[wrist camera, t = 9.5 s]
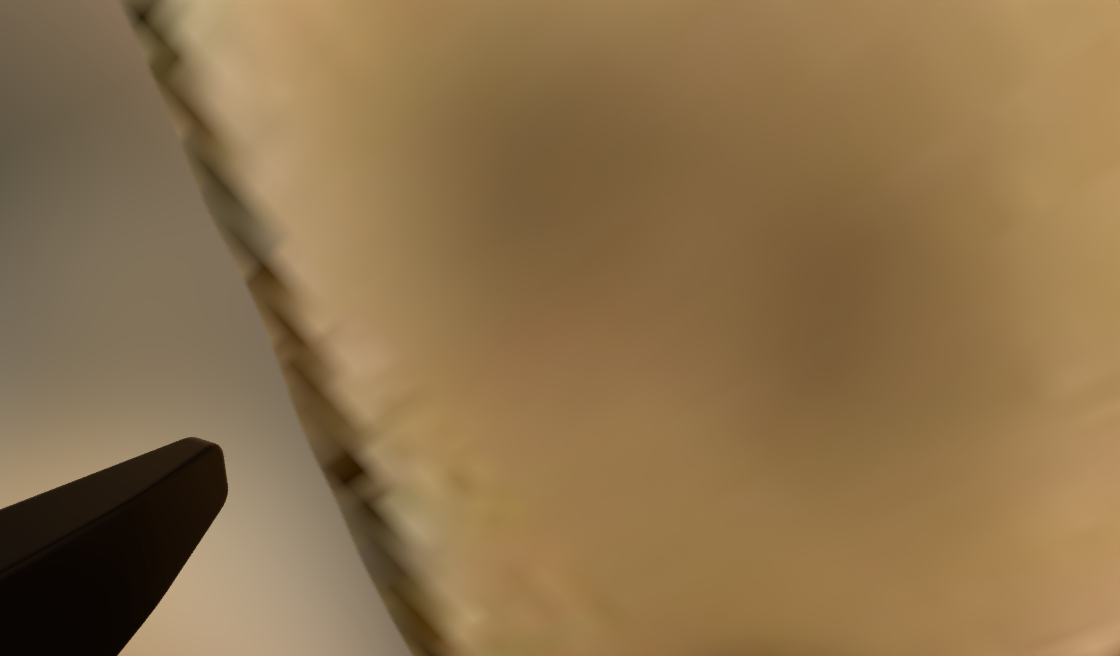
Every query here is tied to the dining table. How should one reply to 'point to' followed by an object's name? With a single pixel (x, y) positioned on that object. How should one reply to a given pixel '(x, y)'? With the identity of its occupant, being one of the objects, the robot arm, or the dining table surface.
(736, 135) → the dining table surface
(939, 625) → the dining table surface
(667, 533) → the dining table surface
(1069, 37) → the dining table surface
